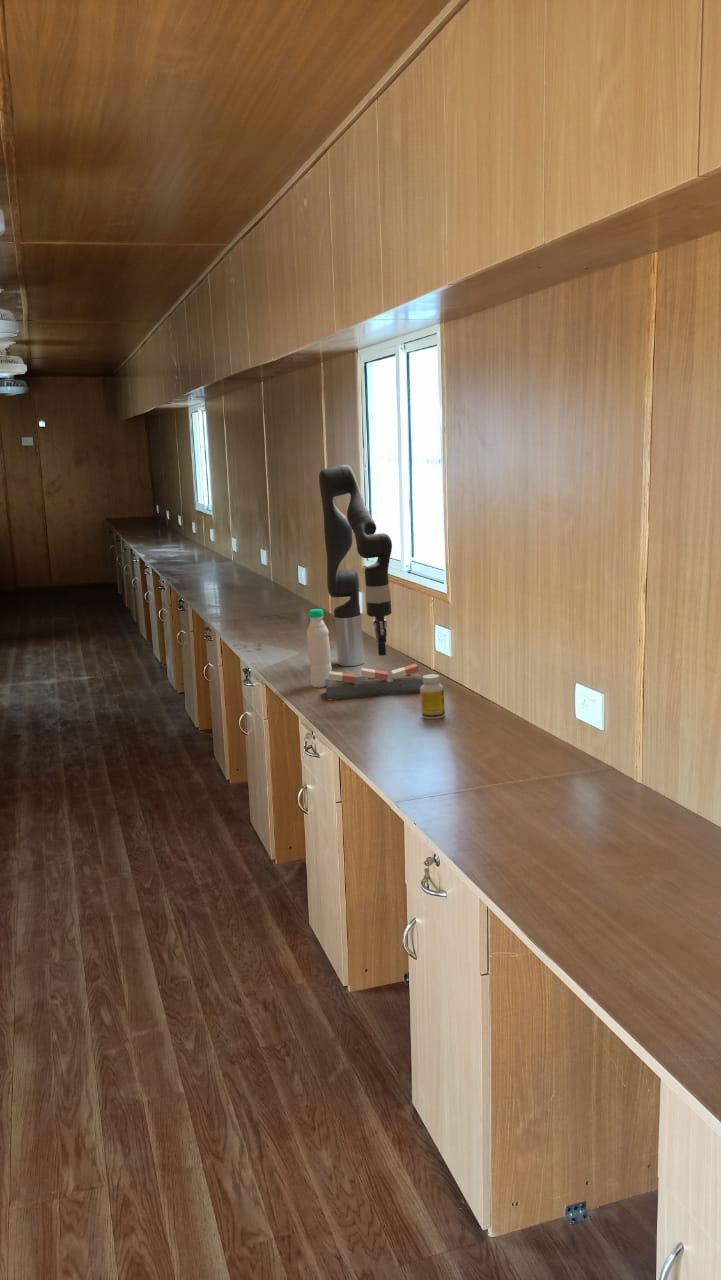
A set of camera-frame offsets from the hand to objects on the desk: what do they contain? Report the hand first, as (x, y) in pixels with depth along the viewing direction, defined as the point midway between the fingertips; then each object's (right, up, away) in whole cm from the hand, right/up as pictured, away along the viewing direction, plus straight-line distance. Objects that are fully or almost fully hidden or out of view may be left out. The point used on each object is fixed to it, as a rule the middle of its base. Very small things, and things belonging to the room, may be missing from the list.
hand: (382, 654), depth 303 cm
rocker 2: (-3, -7, +1) cm, 7 cm away
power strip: (-2, -12, +4) cm, 12 cm away
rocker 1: (-13, -8, +1) cm, 15 cm away
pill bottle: (+14, -17, -28) cm, 35 cm away
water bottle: (-19, -10, +18) cm, 28 cm away
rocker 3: (+7, -6, +1) cm, 10 cm away
